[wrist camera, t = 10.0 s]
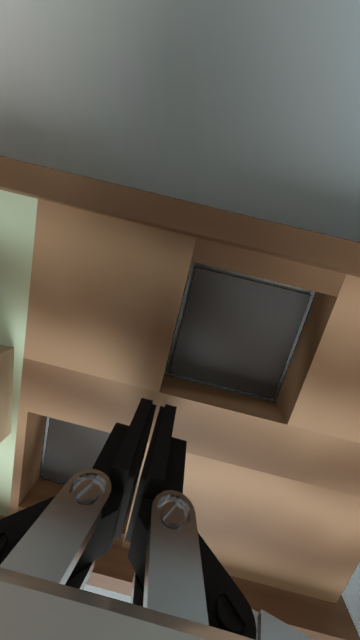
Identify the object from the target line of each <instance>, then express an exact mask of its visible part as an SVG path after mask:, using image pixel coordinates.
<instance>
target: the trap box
mask: <svg viewBox="0 0 360 640" xmlns="http://www.w3.org/2000/svg"><path fill="white" fill-rule="evenodd" d="M192 262H196V263H201V264H205V265H209V266H213V267H217V268H221V269H225V270H229V271H233V272H237V273H241V274H245V275H250V276H254V277H258V278H262V279H266V280H270V281H274V282H278V283H282V284H286V285H290V286H294V287H299V288H303V289H307V290H311V291H315V292H316V294H315V297H314V300H313V302H312V305H311V308H310V310H309V313H308V316H307V318H306V321H305V324H304V327H303V329H302V332H301V335H300V337H299V340H298V343H297V345H296V348H295V351H294V354H293V356H292V359H291V362H290V364H289V367H288V370H287V372H286V375H285V378H284V380H283V383H282V386H281V389H280V391H279V394H278V397H277V399H276V402H271V401H267V400H263V399H259V398H255V397H251V396H247V395H243V394H239V393H235V392H231V391H227V390H223V389H220V388H216V387H212V386H208V385H204V384H200V383H196V382H192V381H188V380H184V379H180V378H176V377H172V376H168V375H164V374H165V370H166V366H167V362H168V358H169V354H170V350H171V346H172V341H173V337H174V333H175V329H176V325H177V321H178V317H179V313H180V308H181V304H182V300H183V296H184V292H185V288H186V284H187V280H188V275H189V271H190V267H191V263H192ZM310 296H311V295H307V294H303V293H299V292H295V291H291V290H287V289H282V288H278V287H274V286H270V285H266V284H262V283H258V282H254V281H250V280H246V279H242V278H238V277H234V276H229V275H225V274H221V273H217V272H213V271H209V270H205V269H201V268H197V267H195V271H194V275H193V279H192V283H191V287H190V291H189V296H188V300H187V304H186V308H185V312H184V316H183V320H182V324H181V328H180V332H179V336H178V340H177V344H176V348H175V352H174V356H173V360H172V364H171V368H170V372H169V373H173V374H177V375H181V376H185V377H189V378H193V379H197V380H201V381H205V382H209V383H213V384H217V385H221V386H225V387H229V388H233V389H237V390H241V391H245V392H249V393H253V394H257V395H261V396H264V397H268V398H272V399H273V397H274V394H275V392H276V389H277V386H278V383H279V381H280V378H281V375H282V372H283V370H284V367H285V364H286V362H287V359H288V356H289V353H290V351H291V348H292V345H293V342H294V340H295V337H296V334H297V332H298V329H299V326H300V323H301V321H302V318H303V315H304V312H305V310H306V307H307V304H308V302H309V299H310ZM0 345H4V346H9V347H14V370H13V398H12V426H11V434H10V435H9V436H7V437H6V438H5V439H4V440H3V441H2V442H1V443H0V519H2V518H4V517H7V516H9V515H11V514H14V513H16V512H18V511H21V510H23V509H25V508H28V507H30V506H32V505H35V504H37V503H39V502H42V501H44V500H46V499H49V498H51V497H53V496H56V495H57V494H58V493H59V491H60V490H61V489H62V488H63V486H64V484H60V483H57V482H53V481H49V480H45V479H41V478H39V474H40V466H41V458H42V450H43V442H44V434H45V425H46V417H50V419H49V427H48V435H47V442H46V450H45V458H44V466H43V474H42V477H44V478H47V479H51V480H55V481H59V482H63V483H67V481H68V480H69V479H70V478H71V477H72V476H73V475H74V474H76V473H78V472H80V471H82V470H86V469H92V468H93V466H94V464H95V462H96V460H97V458H98V456H99V454H100V452H101V450H102V448H103V447H104V445H105V443H106V441H107V439H108V437H109V435H110V433H111V431H112V429H113V427H114V425H115V424H116V423H121V424H125V425H128V426H130V424H131V421H132V419H133V417H134V414H135V412H136V410H137V408H138V405H139V403H140V401H141V398H145V399H149V400H153V404H155V405H157V406H156V410H155V414H154V418H153V422H152V426H151V431H150V435H149V439H148V443H147V447H146V451H145V455H144V459H143V462H142V466H141V469H140V473H139V478H138V482H137V486H136V490H135V494H134V498H133V502H131V504H130V507H129V511H128V514H127V518H126V521H125V525H124V528H123V531H122V535H121V538H120V540H119V539H116V538H114V541H113V544H112V548H111V550H110V549H109V551H108V552H107V553H105V554H104V555H102V556H101V557H99V558H98V559H97V560H96V563H95V566H94V568H93V570H92V572H91V574H90V576H89V578H88V580H87V583H86V584H88V585H91V586H95V587H99V588H103V589H106V590H110V591H114V592H117V593H121V594H125V595H129V596H131V592H132V582H133V575H134V569H133V567H132V565H131V563H130V561H129V559H128V557H127V556H128V552H129V548H130V544H131V543H130V542H127V541H125V538H126V534H127V530H128V526H129V522H130V518H131V514H132V510H133V505H134V501H135V497H136V493H137V489H138V485H139V481H140V477H141V473H142V469H143V466H144V462H145V459H146V455H147V451H148V448H149V444H150V441H151V437H152V434H153V430H154V426H155V423H156V419H157V416H158V412H159V409H160V406H163V407H165V404H168V405H172V406H176V407H177V408H176V414H175V420H174V426H173V432H172V437H174V438H178V439H181V440H185V441H187V446H186V459H185V471H184V484H183V494H184V495H185V496H186V497H187V498H188V499H189V500H190V501H191V503H192V505H193V506H194V510H195V514H196V522H197V530H198V533H199V534H200V536H201V537H202V538H203V540H204V541H205V542H206V544H207V545H208V546H209V548H210V549H211V551H212V552H213V553H214V555H215V556H216V557H217V559H218V560H219V562H220V563H221V564H222V566H223V567H224V568H225V570H226V571H227V573H228V574H229V575H230V577H231V578H232V579H233V581H234V582H235V584H236V585H237V586H238V588H239V589H240V590H241V592H242V593H243V595H244V596H245V598H246V599H247V601H248V603H249V604H250V606H251V608H252V609H254V610H255V611H257V612H260V610H261V609H262V610H264V611H266V612H267V613H269V614H271V615H272V616H274V617H276V618H278V619H279V620H281V621H283V622H284V623H286V624H288V625H290V626H291V627H293V628H295V629H296V630H298V631H300V632H302V633H303V634H305V635H307V636H308V637H310V638H312V639H313V640H360V637H359V635H358V633H357V630H356V628H355V626H354V623H353V621H352V619H351V616H350V614H349V612H348V609H347V607H346V605H345V602H344V600H343V598H342V595H341V594H342V592H343V591H344V589H345V587H346V585H347V583H348V582H349V580H350V578H351V576H352V575H353V573H354V571H355V569H356V567H357V566H358V564H359V562H360V243H358V242H354V241H350V240H346V239H341V238H337V237H333V236H329V235H325V234H321V233H317V232H312V231H308V230H304V229H300V228H296V227H292V226H288V225H283V224H279V223H275V222H271V221H267V220H263V219H259V218H254V217H250V216H246V215H242V214H238V213H234V212H230V211H225V210H221V209H217V208H213V207H209V206H205V205H201V204H196V203H192V202H188V201H184V200H180V199H176V198H171V197H167V196H163V195H159V194H155V193H151V192H147V191H142V190H138V189H134V188H130V187H126V186H122V185H118V184H113V183H109V182H105V181H101V180H97V179H93V178H89V177H84V176H80V175H76V174H72V173H68V172H64V171H60V170H55V169H51V168H47V167H43V166H39V165H35V164H30V163H26V162H22V161H18V160H14V159H10V158H6V157H1V156H0Z"/></svg>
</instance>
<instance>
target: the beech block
mask: <svg viewBox="0 0 360 640" xmlns="http://www.w3.org/2000/svg"><path fill="white" fill-rule="evenodd" d="M13 370H14V347H9V346H4V345H0V443H1V442H2V441H3V440H4V439H5V438H6V437H7V436H9V435H10V434H11V426H12V398H13Z"/></svg>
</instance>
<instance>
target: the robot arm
mask: <svg viewBox="0 0 360 640" xmlns="http://www.w3.org/2000/svg"><path fill="white" fill-rule="evenodd" d="M156 406H157V405H155V404H153V400H149V399H145V398H141V401H140V403H139V405H138V408H137V410H136V412H135V414H134V417H133V419H132V421H131V424H130V426H128V425H125V424H121V423H116V424H115V425H114V427H113V429H112V431H111V433H110V435H109V437H108V439H107V441H106V443H105V445H104V447H103V448H102V450H101V452H100V454H99V456H98V458H97V460H96V462H95V464H94V466H93V468H92V469H86V470H82V471H80V472H78V473H76V474H74V475H73V476H72V477H71V478H70V479H69V480H68V481H67V483H66V484H65V485H64V486H63V488H62V489H61V490H60V491H59V493H58V494H57V495H56V496H53V497H51V498H49V499H46V500H44V501H42V502H39V503H37V504H35V505H32V506H30V507H28V508H25V509H23V510H21V511H18V512H16V513H14V514H11V515H9V516H7V517H4V518H2V519H0V640H313V639H312V638H310V637H308V636H307V635H305V634H303V633H302V632H300V631H298V630H296V629H295V628H293V627H291V626H290V625H288V624H286V623H284V622H283V621H281V620H279V619H278V618H276V617H274V616H272V615H271V614H269V613H267V612H266V611H264V610H262V609H261V610H260V612H257V611H255V610H254V609H252V608H251V606H250V604H249V603H248V601H247V599H246V598H245V596H244V595H243V593H242V592H241V590H240V589H239V588H238V586H237V585H236V584H235V582H234V581H233V579H232V578H231V577H230V575H229V574H228V573H227V571H226V570H225V568H224V567H223V566H222V564H221V563H220V562H219V560H218V559H217V557H216V556H215V555H214V553H213V552H212V551H211V549H210V548H209V546H208V545H207V544H206V542H205V541H204V540H203V538H202V537H201V536H200V534H199V533H198V530H197V522H196V514H195V510H194V506H193V505H192V503H191V501H190V500H189V499H188V498H187V497H186V496H185V495H184V494H183V484H184V471H185V459H186V446H187V441H185V440H181V439H178V438H174V437H172V432H173V426H174V420H175V414H176V408H177V407H176V406H172V405H168V404H165V407H163V406H160V409H159V412H158V416H157V419H156V423H155V426H154V430H153V434H152V437H151V441H150V444H149V448H148V451H147V455H146V459H145V462H144V466H143V469H142V473H141V477H140V481H139V485H138V489H137V493H136V497H135V501H134V505H133V510H132V514H131V518H130V522H129V526H128V530H127V534H126V538H125V541H127V542H130V543H131V544H130V548H129V552H128V556H127V557H128V559H129V561H130V563H131V565H132V567H133V569H134V575H133V582H132V592H131V603H127V602H124V601H120V600H117V599H113V598H109V597H106V596H102V595H99V594H95V593H92V592H88V591H84V590H83V589H84V587H85V585H86V583H87V580H88V578H89V576H90V574H91V572H92V570H93V568H94V566H95V563H96V560H97V559H98V558H99V557H101V556H102V555H104V554H105V553H107V552H108V551H109V549H110V550H111V548H112V544H113V541H114V538H116V539H119V540H120V538H121V535H122V531H123V528H124V525H125V521H126V518H127V514H128V511H129V507H130V504H131V500H132V497H133V493H134V490H135V486H136V483H137V480H138V476H139V473H140V469H141V466H142V462H143V459H144V455H145V451H146V447H147V443H148V439H149V435H150V431H151V426H152V422H153V418H154V414H155V410H156Z"/></svg>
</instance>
